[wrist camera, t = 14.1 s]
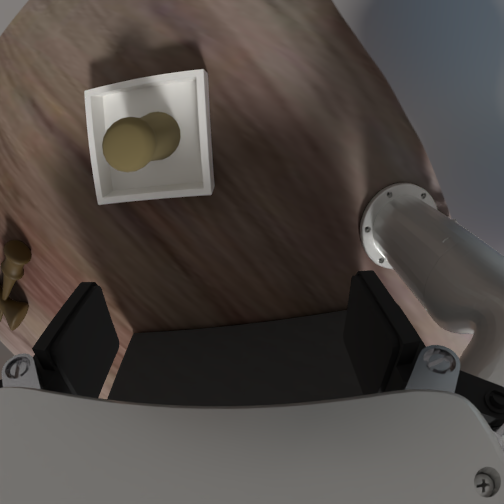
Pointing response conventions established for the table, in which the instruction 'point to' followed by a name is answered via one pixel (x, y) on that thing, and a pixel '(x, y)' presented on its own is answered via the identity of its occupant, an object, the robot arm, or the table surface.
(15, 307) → the kendama
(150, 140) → the cork
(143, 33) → the table surface
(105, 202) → the box
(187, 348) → the laptop
